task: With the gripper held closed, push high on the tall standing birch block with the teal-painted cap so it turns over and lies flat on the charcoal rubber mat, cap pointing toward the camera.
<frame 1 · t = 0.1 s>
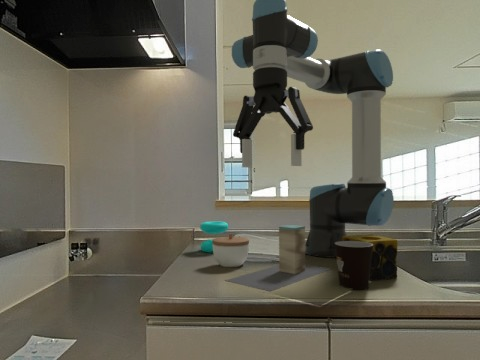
hand: (270, 166, 86), 28 cm above the worktop, tool pointing down, fingers open, 13 cm apart
birch block: (292, 270, 105), resting on rubber mat
coffee mug: (353, 285, 92), on the worktop
rubber mat: (281, 275, 101), on the worktop
donuts: (214, 251, 137), on the worktop
lidded jar: (230, 266, 113), on the worktop
yellow patterned cube: (368, 276, 101), on the worktop
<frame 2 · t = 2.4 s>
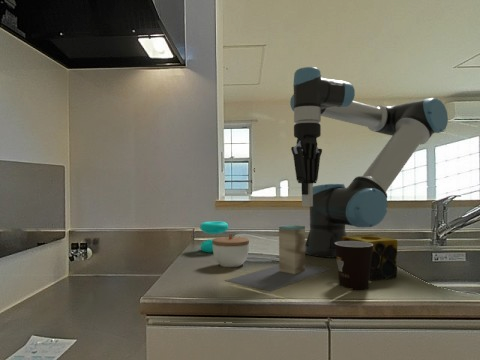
hand: (307, 206, 111), 17 cm above the worktop, tool pointing down, fingers closed
nothing on the worktop moved.
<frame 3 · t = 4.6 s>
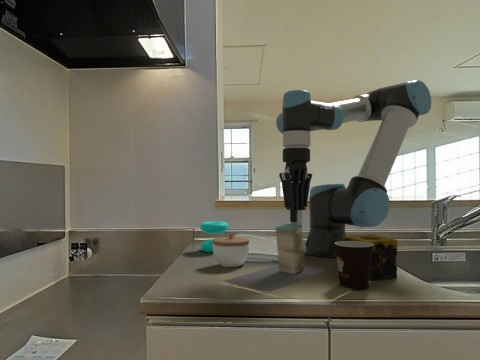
hand: (296, 233, 106), 10 cm above the worktop, tool pointing down, fingers closed
birch block: (292, 269, 105), point 1 cm above the worktop, tilted 7°, touching rubber mat
everything else where it was.
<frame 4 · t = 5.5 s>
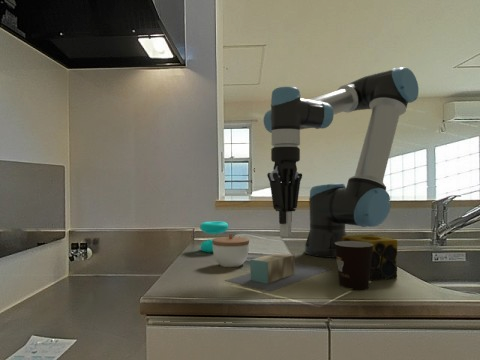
hand: (285, 236, 103), 10 cm above the worktop, tool pointing down, fingers closed
birch block: (286, 263, 103), point 3 cm above the worktop, tilted 90°, touching rubber mat
everything else where it was.
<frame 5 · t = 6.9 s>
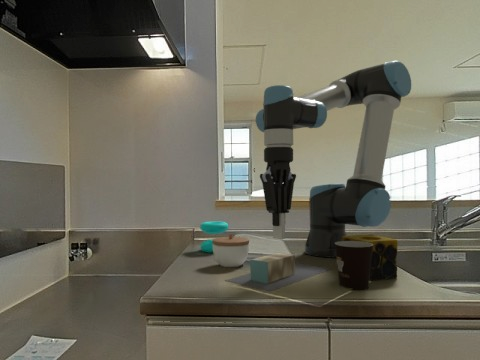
hand: (279, 238, 100), 10 cm above the worktop, tool pointing down, fingers closed
nothing on the worktop moved.
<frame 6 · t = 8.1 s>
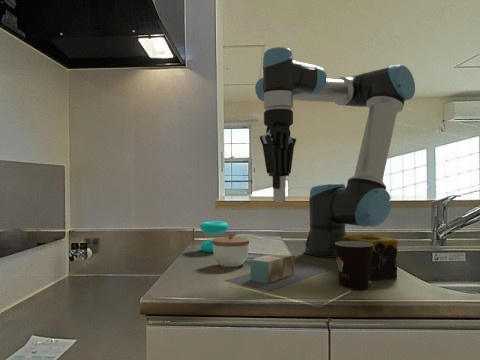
hand: (279, 201, 100), 19 cm above the worktop, tool pointing down, fingers closed
nothing on the worktop moved.
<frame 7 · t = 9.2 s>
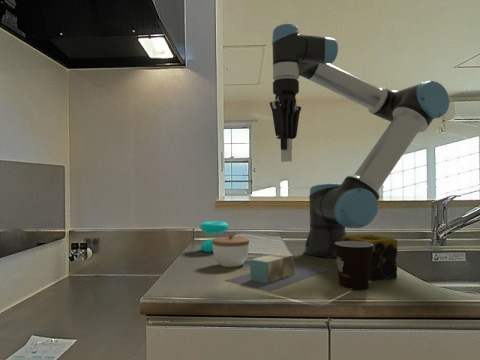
hand: (286, 161, 113), 30 cm above the worktop, tool pointing down, fingers closed
nothing on the worktop moved.
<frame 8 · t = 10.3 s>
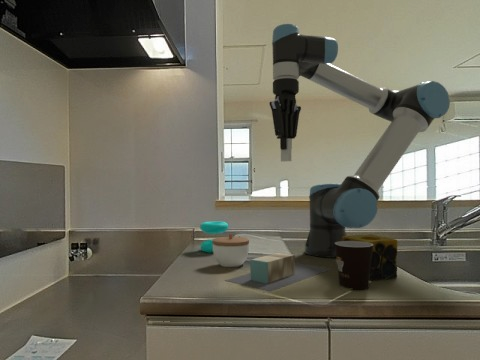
hand: (286, 161, 113), 30 cm above the worktop, tool pointing down, fingers closed
nothing on the worktop moved.
at the end: birch block tilted 90°; birch block inside the target area (3.0 cm from its centre), point 2.9 cm above the worktop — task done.
